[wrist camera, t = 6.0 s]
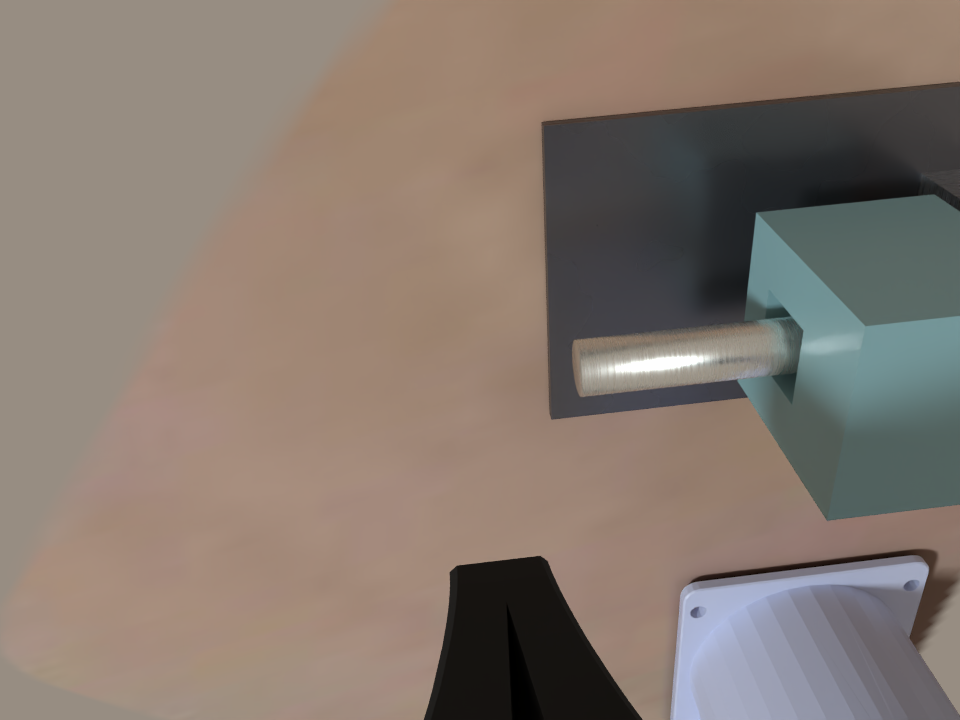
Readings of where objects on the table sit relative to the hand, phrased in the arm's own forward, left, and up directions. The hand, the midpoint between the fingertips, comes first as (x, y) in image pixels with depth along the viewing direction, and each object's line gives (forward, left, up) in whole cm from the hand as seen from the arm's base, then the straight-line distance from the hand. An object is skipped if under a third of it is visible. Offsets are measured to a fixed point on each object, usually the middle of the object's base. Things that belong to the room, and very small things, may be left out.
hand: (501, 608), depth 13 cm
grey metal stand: (0, -8, -10) cm, 13 cm away
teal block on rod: (0, -9, -8) cm, 12 cm away
